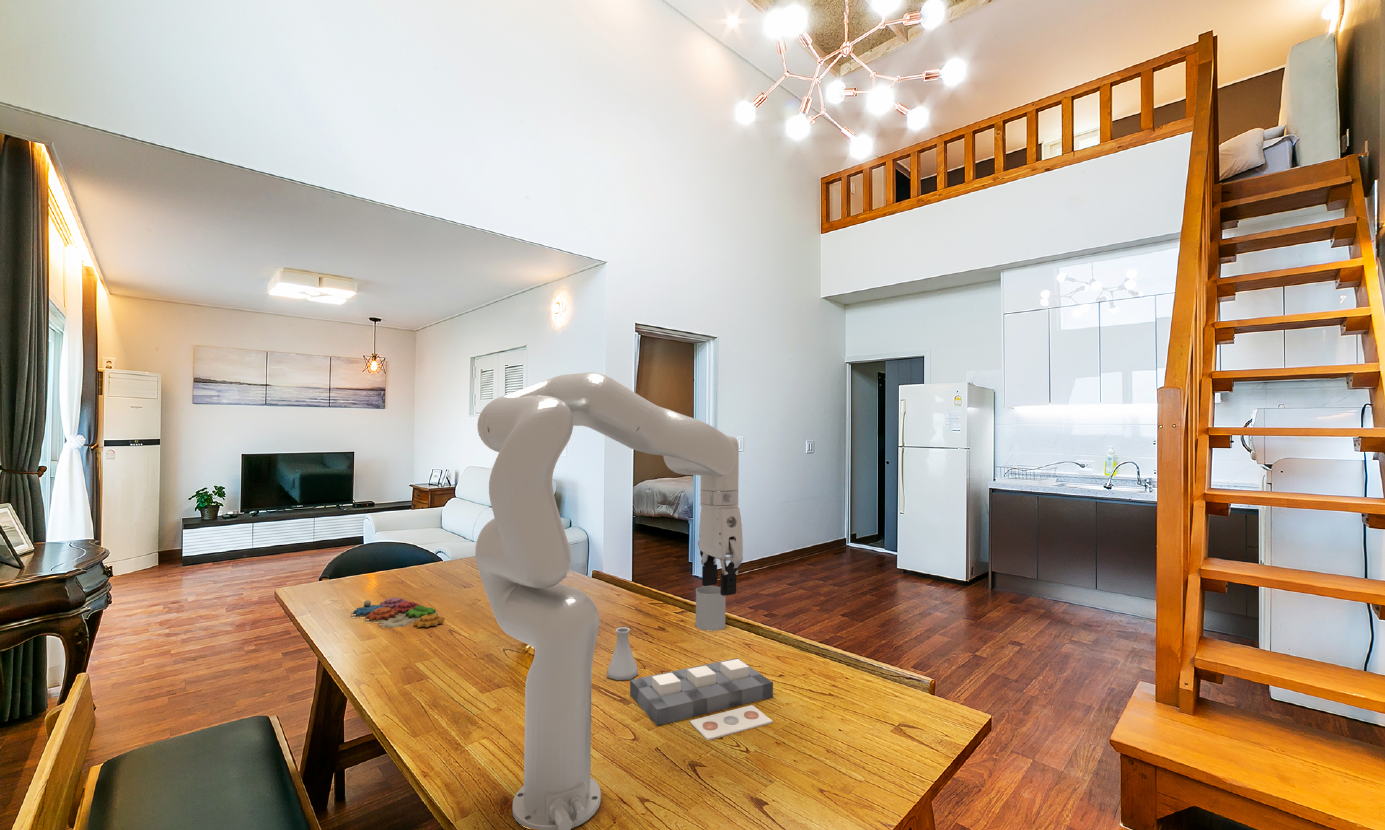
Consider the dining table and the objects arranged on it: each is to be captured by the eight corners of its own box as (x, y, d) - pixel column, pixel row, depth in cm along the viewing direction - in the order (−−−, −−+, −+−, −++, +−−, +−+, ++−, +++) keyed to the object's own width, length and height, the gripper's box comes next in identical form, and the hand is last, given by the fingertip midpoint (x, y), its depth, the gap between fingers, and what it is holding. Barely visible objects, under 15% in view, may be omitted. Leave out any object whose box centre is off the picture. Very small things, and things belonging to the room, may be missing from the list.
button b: (715, 691, 118) (715, 673, 118) (696, 695, 116) (696, 677, 116) (705, 682, 122) (705, 665, 122) (687, 686, 120) (687, 669, 120)
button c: (680, 699, 114) (680, 681, 114) (660, 704, 112) (660, 685, 112) (671, 690, 118) (671, 672, 118) (651, 694, 116) (651, 676, 116)
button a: (748, 683, 122) (748, 666, 122) (730, 687, 120) (731, 670, 120) (737, 675, 125) (738, 658, 126) (720, 679, 123) (720, 662, 124)
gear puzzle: (460, 622, 164) (460, 607, 164) (406, 639, 151) (406, 623, 151) (398, 603, 181) (398, 590, 181) (344, 617, 167) (344, 603, 167)
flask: (633, 683, 125) (633, 636, 125) (601, 679, 126) (601, 634, 126) (642, 669, 132) (642, 625, 132) (612, 666, 133) (612, 623, 133)
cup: (690, 623, 163) (691, 588, 163) (716, 619, 166) (716, 584, 167) (703, 633, 155) (704, 595, 156) (730, 628, 159) (730, 592, 159)
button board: (772, 697, 118) (772, 682, 119) (657, 726, 107) (657, 709, 107) (737, 671, 131) (737, 658, 131) (630, 694, 119) (630, 679, 119)
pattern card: (772, 722, 108) (772, 720, 108) (707, 740, 102) (707, 737, 102) (752, 706, 114) (752, 704, 114) (689, 722, 108) (689, 719, 108)
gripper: (759, 502, 108) (759, 599, 107) (714, 493, 123) (713, 577, 123) (725, 505, 104) (724, 604, 104) (682, 494, 120) (682, 581, 119)
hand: (718, 589), depth 113 cm, fingers open, 6 cm apart
